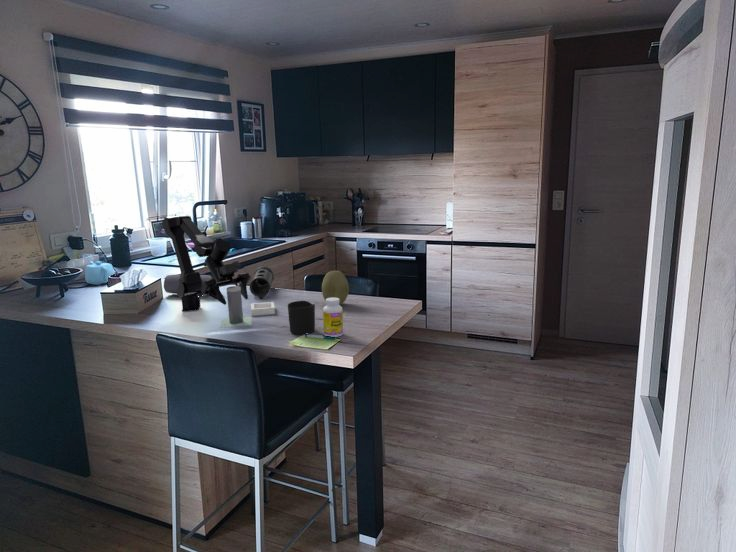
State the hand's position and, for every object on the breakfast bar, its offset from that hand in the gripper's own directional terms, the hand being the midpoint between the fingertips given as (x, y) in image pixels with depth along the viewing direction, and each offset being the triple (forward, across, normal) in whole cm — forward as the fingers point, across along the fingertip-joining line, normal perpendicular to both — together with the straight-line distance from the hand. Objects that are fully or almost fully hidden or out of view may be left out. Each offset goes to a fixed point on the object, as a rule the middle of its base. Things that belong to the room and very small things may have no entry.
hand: (236, 301), depth 186 cm
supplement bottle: (+32, +14, -19) cm, 40 cm away
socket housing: (+3, +14, +10) cm, 18 cm away
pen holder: (+24, +10, -11) cm, 28 cm away
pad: (+6, 0, +7) cm, 9 cm away
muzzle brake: (-18, +37, +31) cm, 52 cm away
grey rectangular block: (+5, 0, +6) cm, 8 cm away
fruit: (+13, +42, 0) cm, 44 cm away
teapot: (-77, -4, +91) cm, 119 cm away
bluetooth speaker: (-32, +12, +46) cm, 57 cm away
